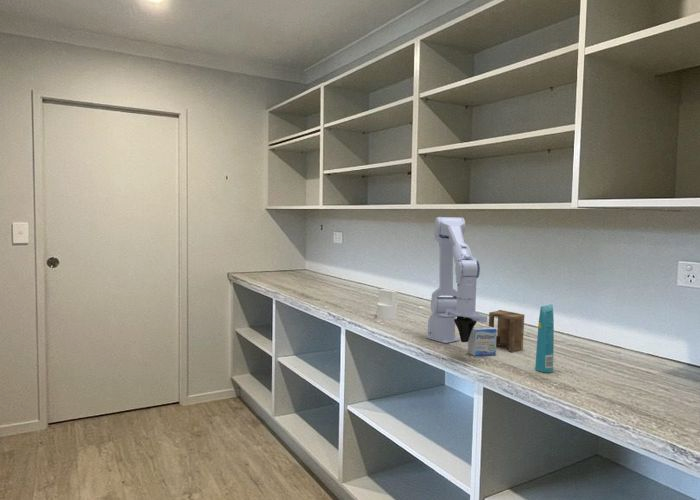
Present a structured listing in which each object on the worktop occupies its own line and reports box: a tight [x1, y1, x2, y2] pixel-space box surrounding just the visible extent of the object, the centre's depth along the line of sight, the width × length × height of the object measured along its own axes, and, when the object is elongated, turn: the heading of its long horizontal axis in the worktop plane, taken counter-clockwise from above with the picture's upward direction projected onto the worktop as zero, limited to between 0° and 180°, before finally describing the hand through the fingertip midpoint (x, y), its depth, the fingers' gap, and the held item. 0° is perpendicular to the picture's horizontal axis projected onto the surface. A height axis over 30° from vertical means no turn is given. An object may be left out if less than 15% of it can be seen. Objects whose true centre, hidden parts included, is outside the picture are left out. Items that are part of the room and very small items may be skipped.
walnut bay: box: [488, 309, 525, 353], centre depth 166 cm, size 9×6×12 cm
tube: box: [534, 303, 555, 373], centre depth 142 cm, size 7×5×19 cm, turn 139°
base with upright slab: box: [376, 288, 399, 321], centre depth 212 cm, size 9×9×12 cm
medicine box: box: [467, 326, 497, 357], centre depth 158 cm, size 8×4×9 cm, turn 106°
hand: (464, 341), depth 153 cm, fingers closed
